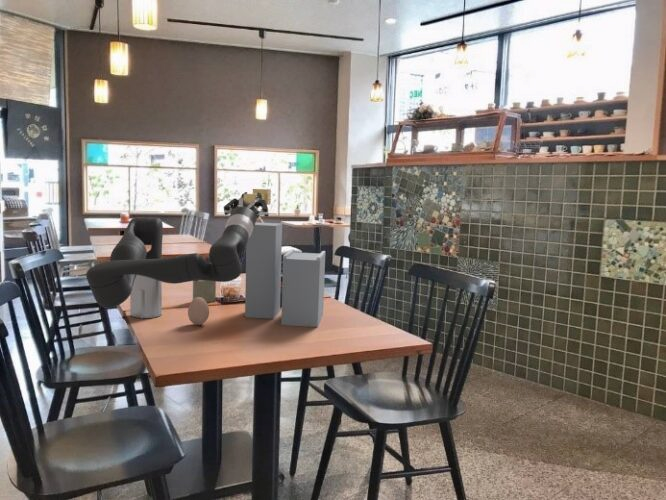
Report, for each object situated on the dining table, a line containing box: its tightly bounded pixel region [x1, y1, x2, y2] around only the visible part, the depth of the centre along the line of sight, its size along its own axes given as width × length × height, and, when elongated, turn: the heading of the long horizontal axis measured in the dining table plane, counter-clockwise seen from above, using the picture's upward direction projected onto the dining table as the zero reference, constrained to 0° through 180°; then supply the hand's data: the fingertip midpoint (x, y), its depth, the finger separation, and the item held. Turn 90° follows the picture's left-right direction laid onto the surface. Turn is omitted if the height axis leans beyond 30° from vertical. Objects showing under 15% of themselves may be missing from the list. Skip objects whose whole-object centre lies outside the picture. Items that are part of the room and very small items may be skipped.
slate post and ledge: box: [244, 221, 326, 328], centre depth 187 cm, size 20×26×32 cm
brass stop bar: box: [243, 188, 272, 206], centre depth 174 cm, size 20×5×5 cm, turn 175°
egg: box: [187, 297, 210, 326], centre depth 175 cm, size 7×7×9 cm
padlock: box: [192, 262, 217, 303], centre depth 209 cm, size 4×8×15 cm, turn 119°
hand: (252, 195), depth 168 cm, fingers closed on brass stop bar, 3 cm apart
